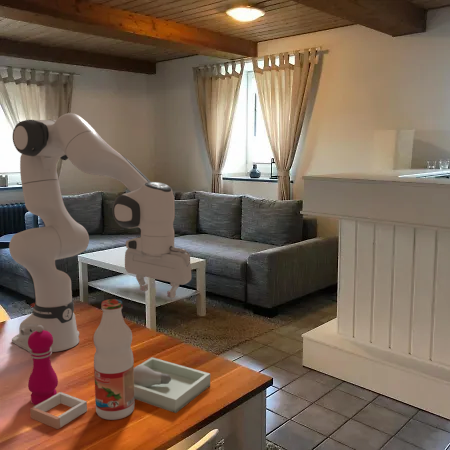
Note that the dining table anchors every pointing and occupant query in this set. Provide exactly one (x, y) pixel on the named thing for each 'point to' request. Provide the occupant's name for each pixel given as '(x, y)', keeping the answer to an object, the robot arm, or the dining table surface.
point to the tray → (172, 385)
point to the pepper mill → (41, 366)
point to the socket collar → (57, 422)
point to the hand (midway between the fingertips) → (157, 293)
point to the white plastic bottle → (113, 364)
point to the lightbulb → (149, 377)
